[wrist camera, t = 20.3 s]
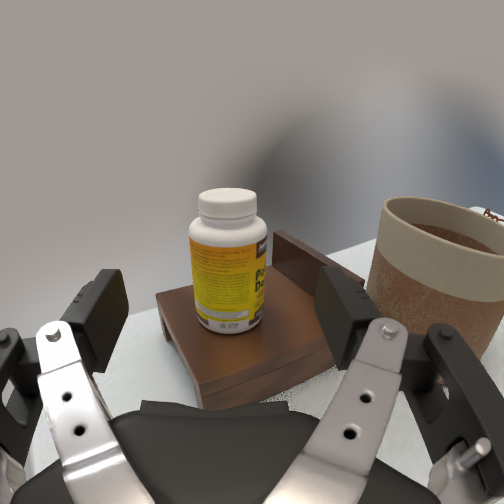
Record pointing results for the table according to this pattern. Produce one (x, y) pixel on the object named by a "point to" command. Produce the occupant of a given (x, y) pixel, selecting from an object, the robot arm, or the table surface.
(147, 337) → the table surface
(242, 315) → the supplement bottle
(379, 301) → the planter
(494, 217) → the glasses
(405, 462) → the table surface
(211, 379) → the shelf
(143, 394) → the table surface
